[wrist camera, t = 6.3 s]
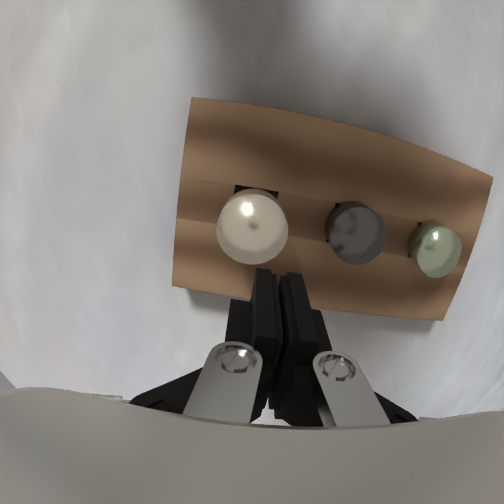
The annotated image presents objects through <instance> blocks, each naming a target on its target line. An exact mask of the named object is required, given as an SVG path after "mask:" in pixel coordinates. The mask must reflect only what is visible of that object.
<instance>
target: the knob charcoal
mask: <svg viewBox="0 0 504 504" xmlns="http://www.w3.org/2000/svg"><path fill="white" fill-rule="evenodd" d="M325 235H326V238H327V240H328V242H329V244H330V245H331V247H332V249H333V250H334V252H335V254H336V255H337V257H338V258H339V259H341V260H342V261H344V262H345V263H348V264H352V265H361V264H365V263H368V262H370V261H371V260H373V259H374V258H376V257H377V256H378V255H379V254H380V252H381V251H382V249H383V247H384V245H385V242H386V237H387V231H386V226H385V224H384V222H383V220H382V218H381V217H380V216H379V215H378V214H376V213H375V212H374V211H373V210H371V209H370V208H369V207H368V206H366V205H365V204H363V203H361V202H358V201H347V202H343V203H341V204H339V205H337V206H336V207H335V208H334V209H333V210H332V211H331V212H330V213H329V215H328V217H327V219H326V223H325Z"/></svg>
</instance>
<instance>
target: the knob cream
mask: <svg viewBox="0 0 504 504" xmlns="http://www.w3.org/2000/svg"><path fill="white" fill-rule="evenodd" d="M216 232H217V239H218V242H219V244H220V246H221V248H222V249H223V251H224V252H225V253H226V254H227V255H228V256H229V257H231V258H232V259H234V260H236V261H238V262H240V263H244V264H251V265H253V264H261V263H265V262H267V261H269V260H271V259H273V258H274V257H276V256H277V255H278V254H279V253H280V252H281V250H282V249H283V247H284V246H285V243H286V241H287V237H288V224H287V221H286V217H285V214H284V211H283V208H282V206H281V204H280V202H279V201H278V200H277V199H276V198H275V197H274V196H273V195H271V194H270V193H268V192H266V191H264V190H260V189H245V190H242V191H239V192H237V193H236V194H234V195H233V196H231V197H230V198H229V199H228V201H227V202H226V203H225V205H224V207H223V209H222V212H221V214H220V216H219V219H218V222H217V228H216Z"/></svg>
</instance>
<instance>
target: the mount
mask: <svg viewBox="0 0 504 504" xmlns="http://www.w3.org/2000/svg"><path fill="white" fill-rule="evenodd" d="M492 181H493V177H492V176H490V175H488V174H486V173H483V172H481V171H479V170H477V169H475V168H472V167H470V166H468V165H465V164H463V163H461V162H458V161H456V160H453V159H451V158H448V157H446V156H443V155H441V154H438V153H436V152H433V151H430V150H428V149H425V148H422V147H419V146H417V145H414V144H411V143H408V142H405V141H402V140H399V139H396V138H393V137H390V136H386V135H383V134H380V133H377V132H373V131H370V130H366V129H363V128H359V127H356V126H352V125H348V124H344V123H341V122H337V121H333V120H328V119H324V118H320V117H315V116H311V115H306V114H302V113H297V112H292V111H287V110H281V109H276V108H270V107H264V106H258V105H252V104H245V103H238V102H231V101H223V100H214V99H205V98H194V97H192V98H191V104H190V111H189V117H188V124H187V131H186V138H185V145H184V153H183V161H182V169H181V178H180V187H179V196H178V206H177V217H176V229H175V242H174V256H173V272H172V286H174V287H180V288H186V289H191V290H197V291H203V292H209V293H215V294H222V295H228V296H234V297H241V298H247V299H251V293H252V287H253V281H254V275H255V270H256V267H257V268H264V269H271V273H272V274H276V275H277V283H278V282H279V278H280V275H286V272H294V273H301V274H302V276H303V279H304V283H305V287H306V290H307V294H308V298H309V301H310V305H311V307H312V308H320V309H328V310H336V311H345V312H354V313H363V314H372V315H382V316H392V317H403V318H414V319H426V320H439V321H443V319H444V317H445V315H446V313H447V310H448V308H449V306H450V304H451V302H452V299H453V297H454V295H455V293H456V290H457V288H458V286H459V283H460V281H461V278H462V276H463V273H464V271H465V268H466V266H467V263H468V260H469V258H470V255H471V252H472V249H473V246H474V243H475V241H476V238H477V234H478V231H479V228H480V225H481V222H482V218H483V215H484V212H485V208H486V204H487V201H488V197H489V193H490V189H491V185H492ZM236 185H241V186H248V187H254V188H260V189H266V190H272V191H275V198H276V199H277V200H278V201H279V202H280V204H281V206H282V208H283V211H284V214H285V217H286V221H287V224H288V237H287V241H286V243H285V246H284V247H283V249H282V250H281V252H280V253H279V254H278V255H277V256H276V257H274V258H273V259H271V260H269V261H267V262H265V263H261V264H253V265H251V264H244V263H240V262H238V261H236V260H234V259H232V258H231V257H229V256H228V255H227V254H226V253H225V252H224V251H223V249H222V248H221V246H220V244H219V242H218V239H217V232H216V228H217V222H218V219H219V216H220V214H221V212H222V209H223V207H224V205H225V203H226V202H227V201H228V199H229V198H230V197H231V196H233V195H234V194H235V192H236ZM347 201H358V202H361V203H363V204H365V205H366V206H368V207H369V208H370V209H371V210H373V211H374V212H375V213H376V214H378V215H379V216H380V217H381V218H382V220H383V222H384V224H385V226H386V231H387V237H386V242H385V245H384V247H383V249H382V251H381V252H380V254H379V255H378V256H377V257H376V258H374V259H373V260H371V261H370V262H368V263H365V264H361V265H352V264H348V263H345V262H344V261H342V260H341V259H339V258H338V257H337V255H336V254H335V252H334V250H333V249H332V247H331V245H330V244H329V242H328V240H327V238H326V235H325V223H326V219H327V217H328V215H329V213H330V212H331V211H332V210H333V209H334V208H335V204H336V203H340V204H341V203H343V202H347ZM430 220H434V221H437V222H439V223H441V224H443V225H444V226H446V227H447V228H449V229H450V230H452V231H454V232H455V233H456V234H457V235H458V237H459V238H460V241H461V255H460V258H459V261H458V263H457V265H456V266H455V267H454V269H453V270H452V271H451V272H450V273H448V274H447V275H445V276H443V277H440V278H432V277H429V276H427V275H426V274H425V273H424V272H423V271H422V270H421V269H420V268H419V267H418V266H417V265H416V264H415V263H414V262H413V261H412V259H411V258H410V255H409V252H408V244H409V240H410V237H411V235H412V233H413V231H414V230H415V229H416V228H417V226H418V222H422V223H423V222H426V221H430Z"/></svg>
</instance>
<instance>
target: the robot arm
mask: <svg viewBox="0 0 504 504" xmlns="http://www.w3.org/2000/svg"><path fill="white" fill-rule="evenodd" d="M267 398H268V405H269V409H274V417H275V419H283V420H284V421H286V422H287V423H288V424H289V425H288V426H279V425H264V424H251V422H253V421H254V420H256V419H257V418H259V417H260V416H261V413H262V409H264V408H265V405H266V402H267ZM0 504H504V411H487V412H478V413H472V414H465V415H458V416H452V417H446V418H427V417H419V419H418V420H417V419H416V417H415V416H413V415H412V414H411V413H409V412H408V411H406V410H404V409H403V408H401V407H399V406H397V405H396V404H394V403H392V402H391V401H389V400H387V399H386V398H384V397H383V396H381V395H379V394H378V393H376V392H374V391H373V390H372V388H371V386H370V384H369V382H368V381H367V379H366V377H365V375H364V373H363V372H362V370H361V368H360V366H359V365H358V363H357V362H356V361H355V360H354V359H353V358H351V357H350V356H348V355H346V354H344V353H341V352H337V351H332V347H331V344H330V340H329V337H328V334H327V330H326V327H325V324H324V320H323V317H322V314H321V311H320V310H316V309H311V305H310V301H309V298H308V294H307V290H306V287H305V283H304V279H303V276H302V274H301V273H294V272H286V275H280V278H279V283H277V275H276V274H272V273H271V269H264V268H257V267H256V270H255V275H254V281H253V287H252V293H251V299H250V302H249V301H242V300H234V299H231V302H230V309H229V316H228V322H227V329H226V336H225V342H223V343H220V344H218V345H216V346H215V347H213V348H212V350H211V351H210V353H209V355H208V357H207V359H206V362H205V364H204V366H203V367H202V368H200V369H198V370H196V371H193V372H191V373H189V374H187V375H184V376H182V377H180V378H178V379H175V380H173V381H171V382H168V383H166V384H164V385H161V386H159V387H157V388H154V389H152V390H149V391H147V392H144V393H142V394H140V395H138V396H136V397H134V398H133V399H132V400H123V399H122V396H112V395H100V394H90V393H81V392H75V391H71V390H64V389H56V388H43V387H26V388H17V389H12V390H9V391H7V392H5V393H3V394H1V395H0Z"/></svg>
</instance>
